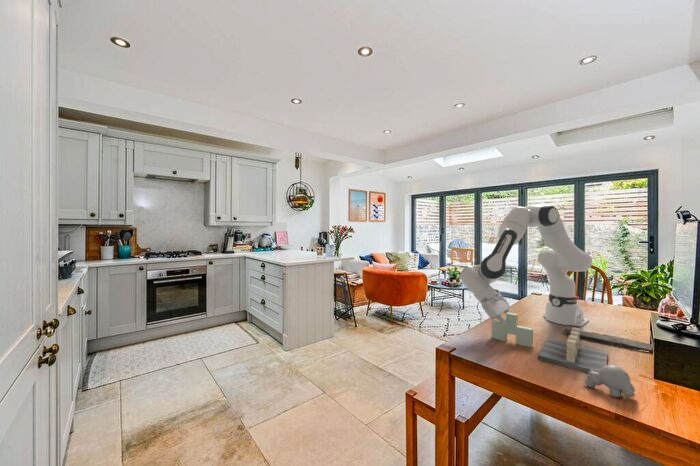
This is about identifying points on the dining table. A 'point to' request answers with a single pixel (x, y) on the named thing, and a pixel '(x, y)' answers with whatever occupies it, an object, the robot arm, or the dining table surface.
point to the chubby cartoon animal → (611, 380)
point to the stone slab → (612, 340)
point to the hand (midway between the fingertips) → (509, 322)
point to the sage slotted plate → (512, 331)
